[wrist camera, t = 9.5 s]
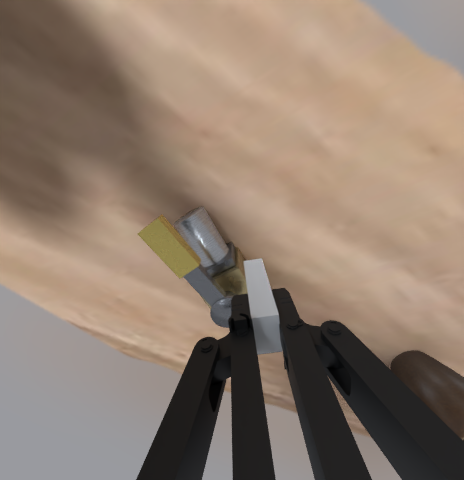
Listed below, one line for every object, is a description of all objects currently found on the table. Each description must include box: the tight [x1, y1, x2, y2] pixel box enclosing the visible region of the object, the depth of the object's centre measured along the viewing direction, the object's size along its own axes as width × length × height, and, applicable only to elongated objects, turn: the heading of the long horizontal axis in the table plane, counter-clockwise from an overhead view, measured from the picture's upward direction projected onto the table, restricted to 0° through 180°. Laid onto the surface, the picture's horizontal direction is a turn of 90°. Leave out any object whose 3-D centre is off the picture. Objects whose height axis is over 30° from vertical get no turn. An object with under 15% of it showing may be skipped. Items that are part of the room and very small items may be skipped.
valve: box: [174, 206, 248, 309], centre depth 35 cm, size 24×7×9 cm, turn 29°
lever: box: [138, 215, 237, 328], centre depth 28 cm, size 17×4×2 cm, turn 36°
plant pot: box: [391, 351, 464, 441], centre depth 40 cm, size 15×15×16 cm
